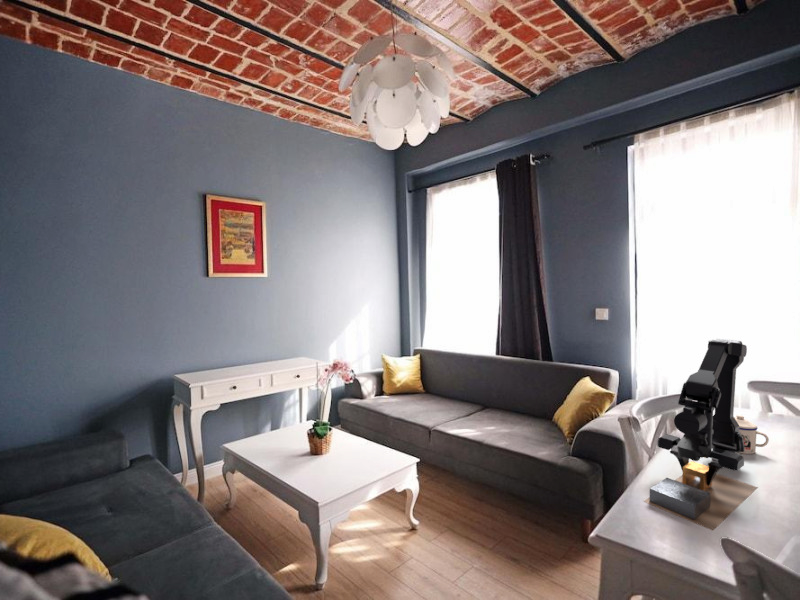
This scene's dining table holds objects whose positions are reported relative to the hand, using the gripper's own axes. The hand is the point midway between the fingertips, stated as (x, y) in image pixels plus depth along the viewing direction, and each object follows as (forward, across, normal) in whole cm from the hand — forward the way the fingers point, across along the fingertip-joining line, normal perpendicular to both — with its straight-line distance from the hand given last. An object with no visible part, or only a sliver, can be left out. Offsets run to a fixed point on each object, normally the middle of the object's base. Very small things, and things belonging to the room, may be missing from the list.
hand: (697, 481), depth 114 cm
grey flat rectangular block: (+1, +1, -8) cm, 8 cm away
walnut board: (+3, +2, -4) cm, 5 cm away
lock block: (+1, 0, 0) cm, 1 cm away
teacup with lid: (+3, -1, +44) cm, 44 cm away
